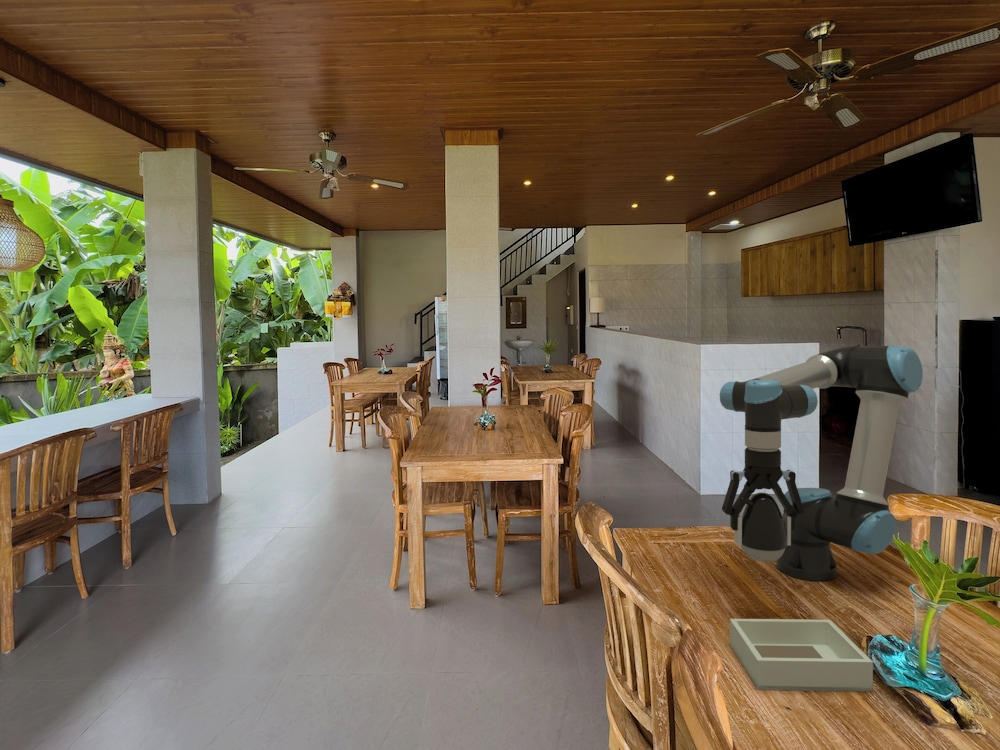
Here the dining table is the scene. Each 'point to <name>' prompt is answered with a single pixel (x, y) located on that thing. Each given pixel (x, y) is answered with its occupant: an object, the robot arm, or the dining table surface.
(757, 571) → the dining table surface
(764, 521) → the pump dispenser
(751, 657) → the tray
